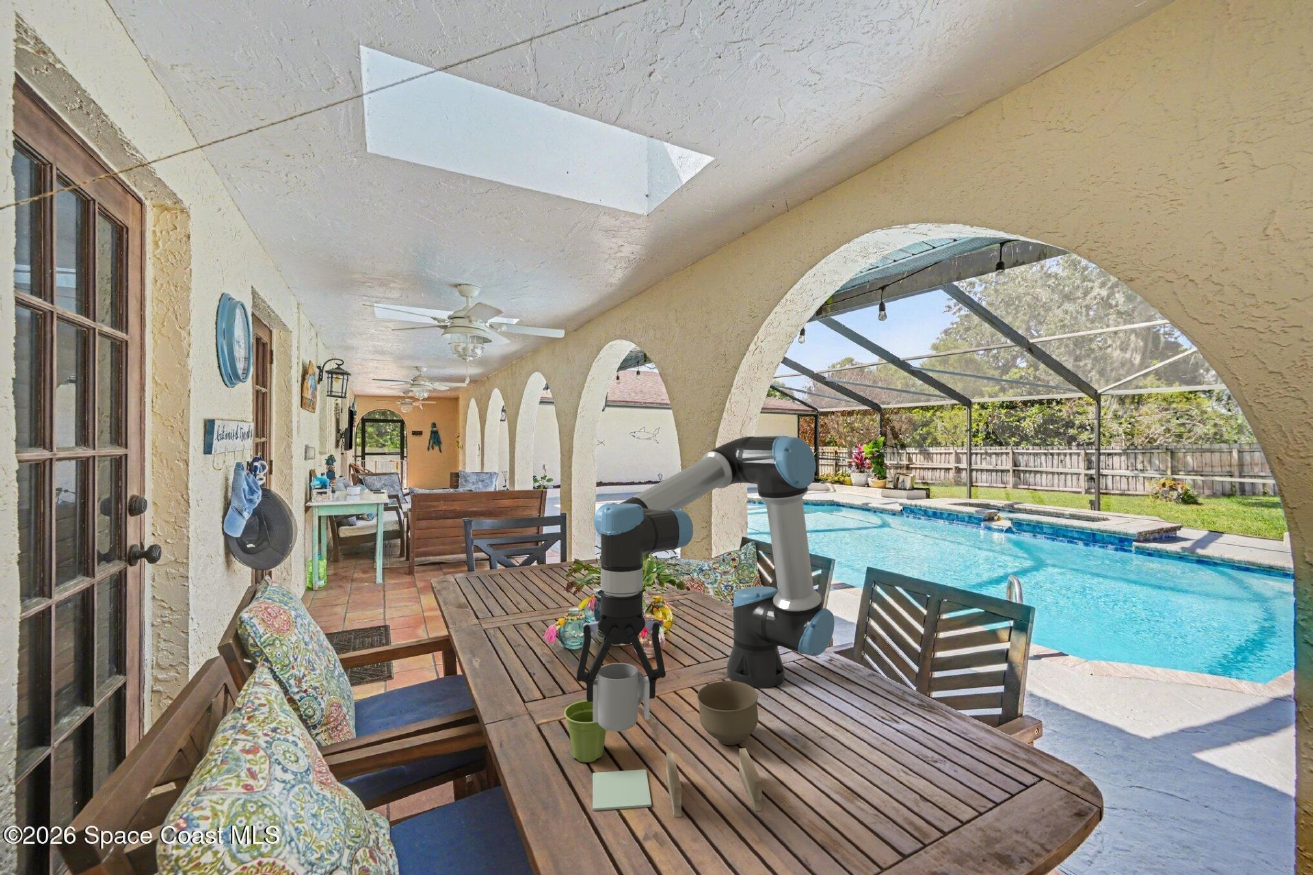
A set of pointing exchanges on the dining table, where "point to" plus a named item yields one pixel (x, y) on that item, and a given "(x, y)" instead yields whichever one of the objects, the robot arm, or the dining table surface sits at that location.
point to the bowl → (728, 710)
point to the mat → (620, 790)
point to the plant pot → (584, 732)
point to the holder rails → (745, 772)
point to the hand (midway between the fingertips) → (620, 717)
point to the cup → (619, 696)
